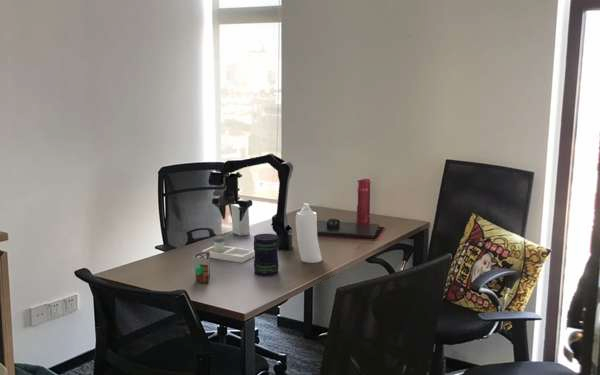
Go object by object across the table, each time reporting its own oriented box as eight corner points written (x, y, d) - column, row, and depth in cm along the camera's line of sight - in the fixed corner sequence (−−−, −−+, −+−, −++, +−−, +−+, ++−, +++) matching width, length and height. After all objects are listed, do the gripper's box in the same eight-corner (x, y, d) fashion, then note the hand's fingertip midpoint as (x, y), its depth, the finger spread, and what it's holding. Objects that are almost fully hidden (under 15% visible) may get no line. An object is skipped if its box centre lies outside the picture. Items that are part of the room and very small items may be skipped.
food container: (194, 275, 243) (193, 250, 241) (210, 274, 243) (209, 250, 241) (191, 285, 230) (191, 259, 229) (208, 285, 231) (207, 259, 229)
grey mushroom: (227, 252, 272) (226, 237, 270) (220, 255, 267) (220, 239, 266) (217, 251, 274) (217, 236, 273) (211, 254, 269) (210, 238, 268)
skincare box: (249, 234, 305) (249, 205, 303) (239, 236, 302) (238, 206, 300) (241, 231, 312) (241, 202, 310) (231, 232, 309) (230, 203, 306)
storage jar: (262, 267, 252) (262, 232, 250) (283, 271, 248) (283, 235, 245) (248, 274, 244) (248, 237, 241) (269, 278, 239) (269, 241, 236)
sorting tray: (255, 255, 269) (255, 250, 268) (242, 262, 259) (242, 256, 259) (216, 250, 278) (216, 244, 277) (202, 256, 268) (201, 250, 268)
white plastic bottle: (317, 265, 256) (317, 206, 251) (292, 263, 259) (293, 205, 254) (324, 257, 267) (325, 201, 262) (300, 255, 270) (301, 199, 265)
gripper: (204, 187, 278) (205, 221, 281) (239, 191, 270) (240, 225, 273) (218, 184, 288) (219, 216, 291) (252, 187, 280) (253, 220, 283)
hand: (232, 220), depth 284 cm, fingers open, 9 cm apart
